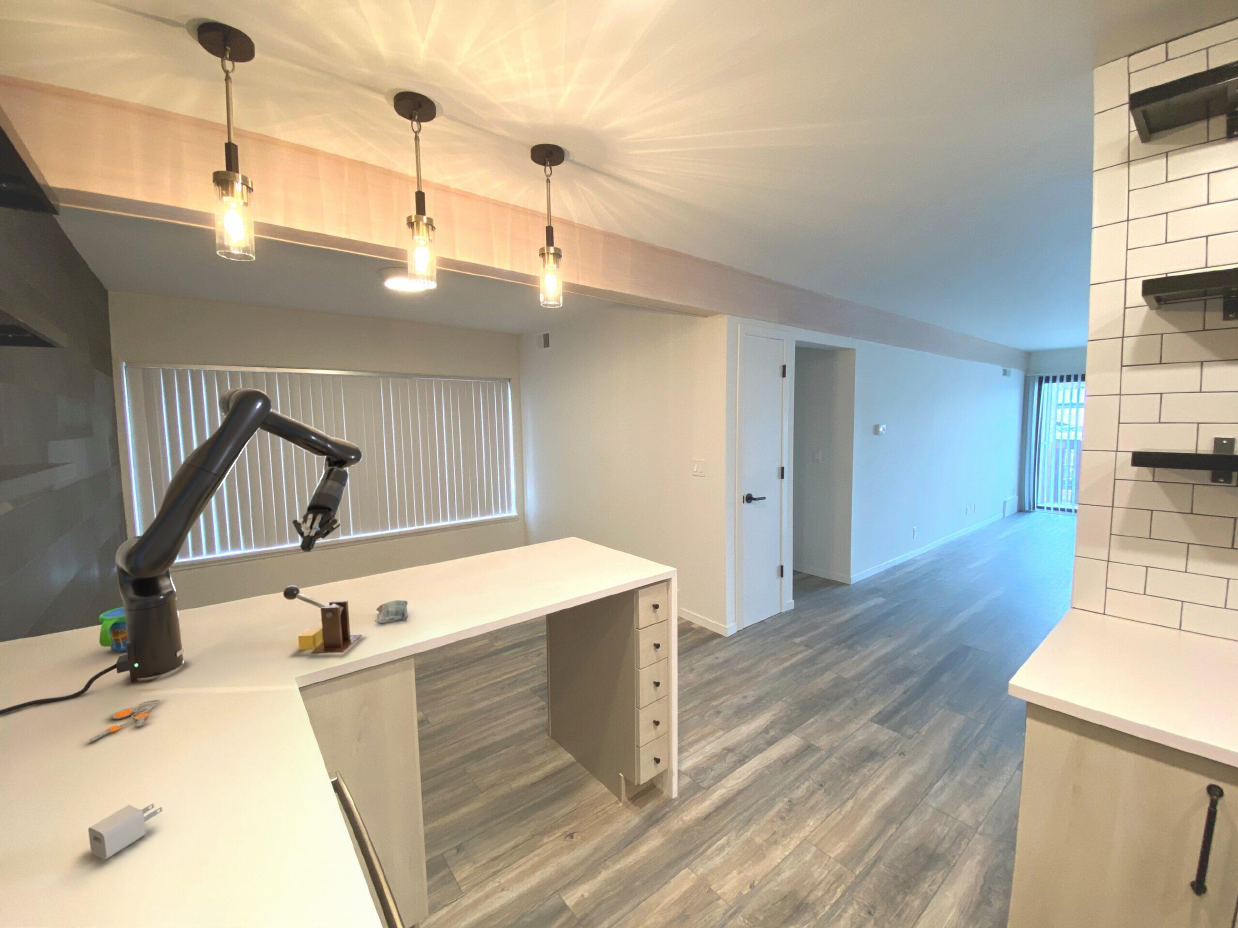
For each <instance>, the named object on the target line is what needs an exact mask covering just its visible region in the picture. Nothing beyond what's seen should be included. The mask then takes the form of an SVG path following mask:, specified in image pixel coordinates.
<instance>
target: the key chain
mask: <svg viewBox="0 0 1238 928" xmlns="http://www.w3.org/2000/svg"><path fill="white" fill-rule="evenodd" d="M160 701H161V700H160V699H153V700H148V701H147V700H146V701H144V702H141V703H139V704H138V706H137V707H136V709H134V708H127V709H124V710H120V711H118V712H116V713H115V714H113V715H112V719H113V720H120V719H124V718H127V717H129V716H130V718H131V719H132V720H130V721H127V722H125V723H122V724H120V725H113V726H110V727H108V728H106V729H105V730H104V731H103V732H102V733H99V734H97V735H95V736H94V737H92V738H89V740H88V741H89V742H94V741H95V740H97V739H99V738H101V737H103V736H105V735H107V734H109V733H114V732H116V731H119V730H120V729H121V727H124V726H127V725H129V724H131V723H133V722H135V721H137V722H136V725H135V727H137V728H138V727H141V726H142V725H144V722H145V719H146V718H148V717H149V713H148V711H149V710H151V708H154V706H156V705H157V704H158V703H159V702H160ZM153 702H154V703H153ZM149 703H153V704H152V705H150V706H149V707H145V708H142V709H139V708H140V707H141V706H142V705H145V704H149ZM138 709H139V710H138Z"/></svg>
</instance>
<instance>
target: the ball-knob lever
mask: <svg viewBox="0 0 1238 928" xmlns="http://www.w3.org/2000/svg"><path fill="white" fill-rule="evenodd" d="M300 591H301V590H300V588H299V587H298V586H296V585H289V586H287V587H285V588H284V590H283V592H282V595H283V598H285V599H286V600H289V601H293V600H296V599H298V600H300V601H303V602H305V603H307V604H310V605H312V606H314V607H317V608H320V609H321V608H322V607H333V606H339V605H337V604H332V605H331V606H329V604H328V603H324V602H322V601H320V600H317V599H316V598H313V597H310V596H308V595H306V594H303V593H301V592H300ZM343 608H344V607H341V606H340V615H341V613H342V610H343Z"/></svg>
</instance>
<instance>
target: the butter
mask: <svg viewBox="0 0 1238 928" xmlns="http://www.w3.org/2000/svg"><path fill="white" fill-rule="evenodd" d="M297 637H298V638H297V639H298V640H297V641H298V649H299V650H300V651H301V650H315V649H316V648H317V647H319V646H320V645H321V644H322V643H323V631H322V626H320V627H309V628H307V629H306V630H304V631H303V632H301V633H300V634H299V635H298V636H297Z"/></svg>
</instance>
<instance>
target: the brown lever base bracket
mask: <svg viewBox="0 0 1238 928" xmlns="http://www.w3.org/2000/svg"><path fill="white" fill-rule="evenodd" d="M332 604H337V605H339V606H333V607H322V608H320V616H321V627H322V631H323V642H322V643H320V644H319V645H318V646H317V647H315V648H314V649H313V650H312V651H310V654H333V653H344V652H345V651H346V650H348V649H349V648H350V647H351V646H352V645H354V643H355V642H357V641H358V639H360V638H361V637H362V634H351V628H350V627H351V625H350V613H349V600H331V601H329V602H328V605H329V606H331V605H332ZM340 606H341V607H344V608H343V610H342V613H341V615H340Z"/></svg>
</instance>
